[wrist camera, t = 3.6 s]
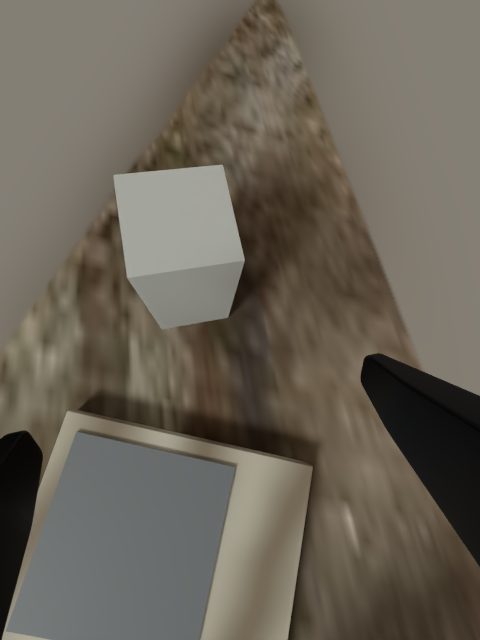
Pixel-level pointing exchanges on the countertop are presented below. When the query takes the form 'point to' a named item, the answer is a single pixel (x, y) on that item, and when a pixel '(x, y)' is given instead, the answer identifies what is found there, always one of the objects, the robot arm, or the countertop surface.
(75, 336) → the countertop surface
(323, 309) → the countertop surface
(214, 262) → the grey post
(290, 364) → the countertop surface
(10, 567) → the robot arm
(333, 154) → the countertop surface
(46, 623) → the board
